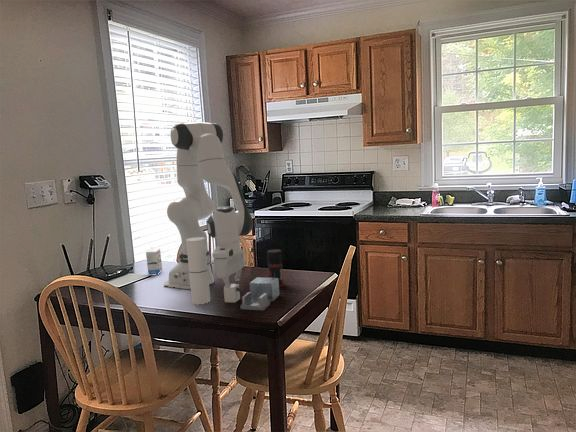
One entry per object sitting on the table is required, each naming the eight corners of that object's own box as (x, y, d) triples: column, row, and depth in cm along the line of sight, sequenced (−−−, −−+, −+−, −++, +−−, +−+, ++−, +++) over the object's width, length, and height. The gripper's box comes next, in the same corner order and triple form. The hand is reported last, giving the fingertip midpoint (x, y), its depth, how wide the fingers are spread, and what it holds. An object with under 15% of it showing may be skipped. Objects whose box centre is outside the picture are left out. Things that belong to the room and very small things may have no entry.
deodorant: (281, 287, 197) (279, 252, 195) (268, 287, 198) (265, 252, 196) (284, 283, 203) (282, 249, 201) (271, 283, 204) (268, 249, 202)
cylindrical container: (194, 305, 180) (188, 241, 177) (190, 300, 187) (184, 238, 183) (212, 302, 183) (206, 239, 180) (207, 297, 190) (202, 236, 186)
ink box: (158, 275, 232) (155, 251, 230) (148, 275, 232) (145, 252, 230) (162, 270, 240) (160, 248, 238) (153, 271, 240) (150, 248, 239)
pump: (240, 302, 181) (239, 287, 180) (224, 302, 183) (223, 287, 182) (244, 299, 185) (243, 284, 184) (229, 298, 187) (228, 283, 186)
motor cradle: (263, 310, 170) (262, 291, 169) (240, 309, 173) (239, 290, 172) (281, 293, 189) (279, 276, 188) (260, 292, 192) (258, 275, 191)
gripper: (232, 243, 192) (236, 276, 194) (210, 254, 172) (214, 291, 174) (246, 243, 190) (250, 276, 192) (226, 254, 171) (230, 291, 172)
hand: (233, 283), depth 183 cm, fingers open, 8 cm apart
